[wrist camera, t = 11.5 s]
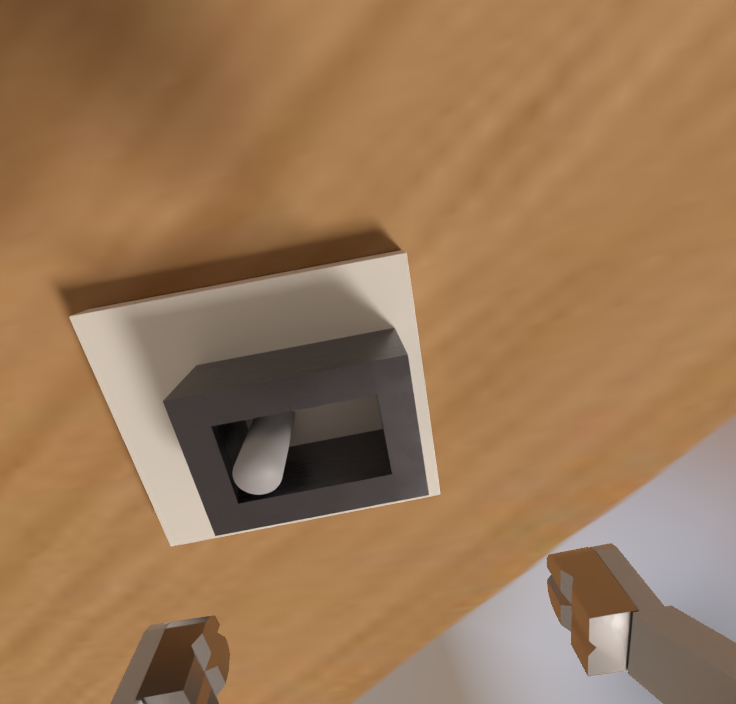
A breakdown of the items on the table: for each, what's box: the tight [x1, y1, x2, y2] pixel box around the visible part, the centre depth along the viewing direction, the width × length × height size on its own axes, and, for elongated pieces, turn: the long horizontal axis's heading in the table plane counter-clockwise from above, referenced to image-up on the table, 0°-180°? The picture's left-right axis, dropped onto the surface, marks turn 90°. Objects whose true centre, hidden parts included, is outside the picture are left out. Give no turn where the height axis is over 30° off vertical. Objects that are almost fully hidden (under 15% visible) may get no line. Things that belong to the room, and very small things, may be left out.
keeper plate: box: [69, 250, 441, 546], centre depth 19 cm, size 16×14×6 cm
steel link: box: [163, 328, 429, 536], centre depth 19 cm, size 10×7×4 cm
